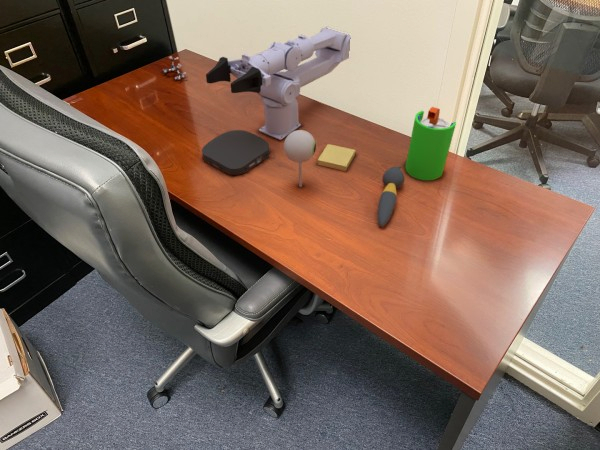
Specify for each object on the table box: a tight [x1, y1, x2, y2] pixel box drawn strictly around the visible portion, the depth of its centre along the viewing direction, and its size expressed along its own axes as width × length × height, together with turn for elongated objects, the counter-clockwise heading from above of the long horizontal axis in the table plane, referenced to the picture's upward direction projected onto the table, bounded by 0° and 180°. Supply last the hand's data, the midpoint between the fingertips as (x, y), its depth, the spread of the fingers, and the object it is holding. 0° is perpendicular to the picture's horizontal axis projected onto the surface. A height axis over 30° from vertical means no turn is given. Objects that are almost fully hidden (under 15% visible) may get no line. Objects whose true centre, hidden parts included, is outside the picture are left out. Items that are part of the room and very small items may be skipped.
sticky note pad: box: [317, 143, 356, 172], centre depth 113 cm, size 8×8×2 cm
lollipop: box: [283, 129, 317, 188], centre depth 101 cm, size 7×7×15 cm
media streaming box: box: [201, 129, 271, 176], centre depth 114 cm, size 15×15×3 cm
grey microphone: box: [377, 166, 405, 227], centre depth 100 cm, size 20×5×5 cm, turn 167°
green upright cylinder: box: [405, 106, 457, 181], centre depth 103 cm, size 9×8×18 cm
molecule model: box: [162, 55, 187, 81], centre depth 146 cm, size 6×12×8 cm, turn 41°
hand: (219, 83), depth 98 cm, fingers open, 7 cm apart
